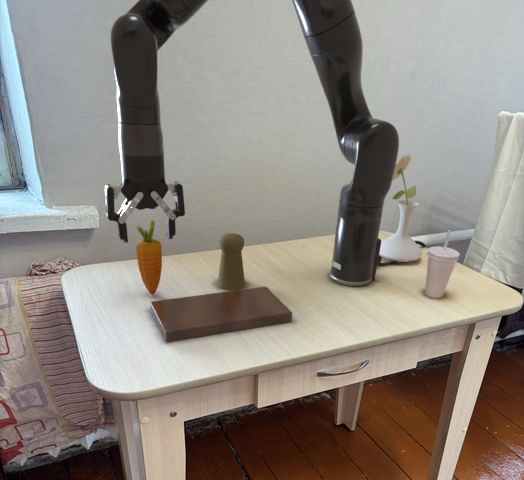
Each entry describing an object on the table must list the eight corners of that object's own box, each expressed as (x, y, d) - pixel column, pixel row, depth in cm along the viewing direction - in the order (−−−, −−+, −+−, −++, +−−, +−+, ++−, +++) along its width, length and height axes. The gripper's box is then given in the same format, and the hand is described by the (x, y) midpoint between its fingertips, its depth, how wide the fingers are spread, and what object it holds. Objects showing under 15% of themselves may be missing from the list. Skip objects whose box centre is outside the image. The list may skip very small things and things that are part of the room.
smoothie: (450, 292, 110) (467, 229, 103) (446, 303, 105) (463, 238, 98) (421, 285, 113) (435, 224, 105) (415, 296, 108) (430, 232, 100)
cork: (241, 291, 106) (242, 241, 100) (213, 288, 107) (213, 237, 101) (247, 280, 111) (249, 231, 105) (221, 277, 112) (221, 228, 106)
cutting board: (265, 294, 105) (266, 286, 104) (291, 321, 95) (292, 312, 94) (150, 311, 97) (149, 301, 95) (166, 342, 87) (165, 332, 86)
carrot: (144, 301, 100) (137, 227, 92) (137, 291, 104) (130, 219, 96) (168, 297, 102) (163, 224, 94) (160, 287, 106) (155, 217, 98)
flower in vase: (399, 247, 134) (418, 147, 121) (430, 262, 126) (454, 156, 113) (360, 253, 129) (376, 150, 116) (389, 269, 120) (410, 159, 107)
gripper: (103, 155, 83) (113, 249, 91) (187, 153, 88) (189, 242, 96) (96, 147, 89) (106, 236, 97) (176, 145, 94) (179, 230, 102)
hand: (147, 239), depth 97 cm, fingers open, 8 cm apart
